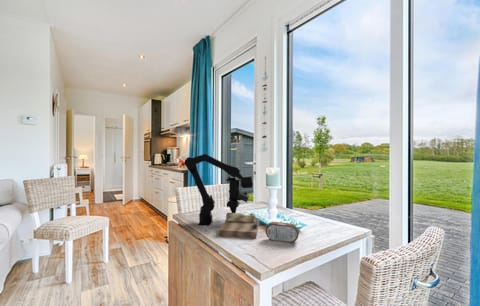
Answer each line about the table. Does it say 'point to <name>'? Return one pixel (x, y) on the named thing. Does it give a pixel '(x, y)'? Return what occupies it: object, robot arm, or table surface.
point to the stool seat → (239, 229)
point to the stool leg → (240, 217)
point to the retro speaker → (282, 232)
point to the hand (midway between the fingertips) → (234, 215)
